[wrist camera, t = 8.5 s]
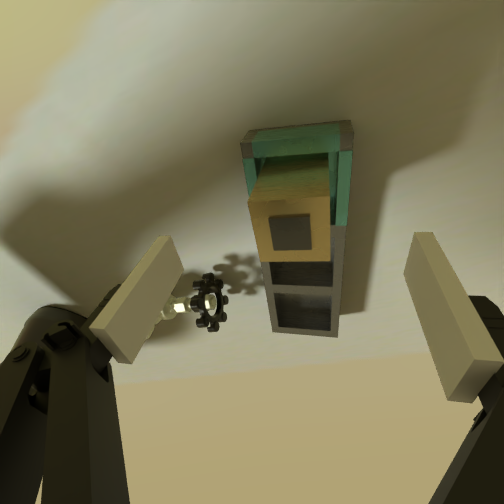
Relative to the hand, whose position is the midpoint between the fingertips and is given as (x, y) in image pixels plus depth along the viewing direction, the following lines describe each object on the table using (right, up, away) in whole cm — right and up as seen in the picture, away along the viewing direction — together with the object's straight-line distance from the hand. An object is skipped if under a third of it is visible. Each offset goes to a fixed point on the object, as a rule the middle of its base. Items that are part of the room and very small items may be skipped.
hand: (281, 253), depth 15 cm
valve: (-11, -4, +20) cm, 23 cm away
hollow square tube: (+2, +6, +7) cm, 9 cm away
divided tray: (+3, +1, +12) cm, 12 cm away
